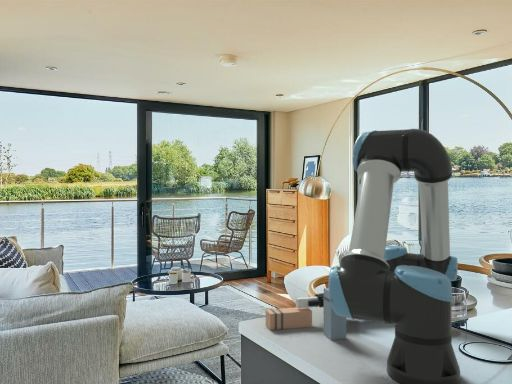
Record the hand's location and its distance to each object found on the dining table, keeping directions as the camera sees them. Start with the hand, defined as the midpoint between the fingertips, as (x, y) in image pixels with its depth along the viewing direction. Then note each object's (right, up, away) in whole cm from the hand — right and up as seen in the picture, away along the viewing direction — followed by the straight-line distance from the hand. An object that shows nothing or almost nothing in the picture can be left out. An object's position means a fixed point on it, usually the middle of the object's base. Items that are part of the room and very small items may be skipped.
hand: (297, 303), depth 130 cm
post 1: (+4, -4, +1) cm, 6 cm away
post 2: (+9, -7, -10) cm, 15 cm away
